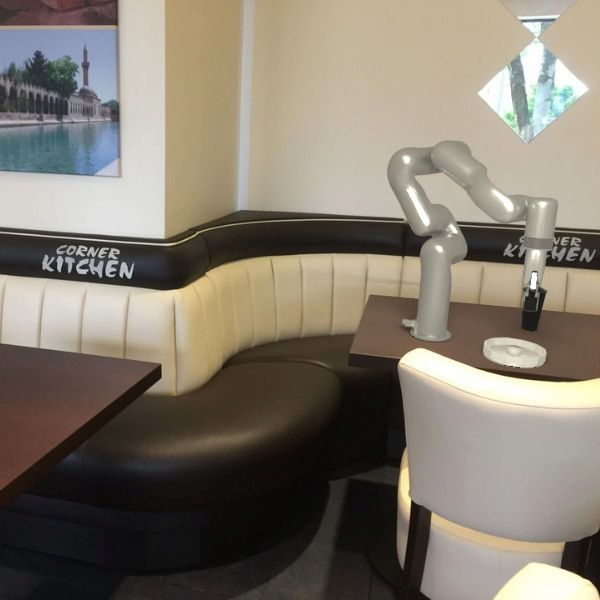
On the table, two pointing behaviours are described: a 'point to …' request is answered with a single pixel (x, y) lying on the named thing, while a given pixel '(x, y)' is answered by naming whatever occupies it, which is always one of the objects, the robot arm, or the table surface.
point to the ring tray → (522, 361)
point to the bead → (524, 300)
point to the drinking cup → (533, 312)
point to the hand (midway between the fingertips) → (529, 307)
